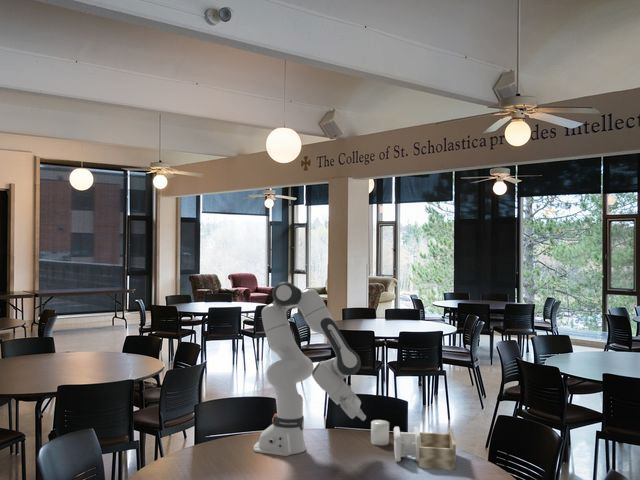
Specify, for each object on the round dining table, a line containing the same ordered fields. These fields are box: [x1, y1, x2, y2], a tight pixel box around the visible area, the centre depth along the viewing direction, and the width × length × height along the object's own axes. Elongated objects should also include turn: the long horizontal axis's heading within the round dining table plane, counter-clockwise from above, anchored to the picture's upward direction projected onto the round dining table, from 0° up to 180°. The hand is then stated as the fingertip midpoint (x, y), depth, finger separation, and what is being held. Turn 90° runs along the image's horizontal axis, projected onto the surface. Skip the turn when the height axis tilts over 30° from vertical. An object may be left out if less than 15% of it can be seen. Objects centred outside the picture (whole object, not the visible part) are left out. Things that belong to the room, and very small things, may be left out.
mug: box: [370, 419, 390, 446], centre depth 274 cm, size 8×11×9 cm
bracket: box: [418, 428, 457, 471], centre depth 251 cm, size 14×20×10 cm
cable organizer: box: [393, 426, 421, 463], centre depth 253 cm, size 15×11×12 cm
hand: (364, 419), depth 256 cm, fingers closed
